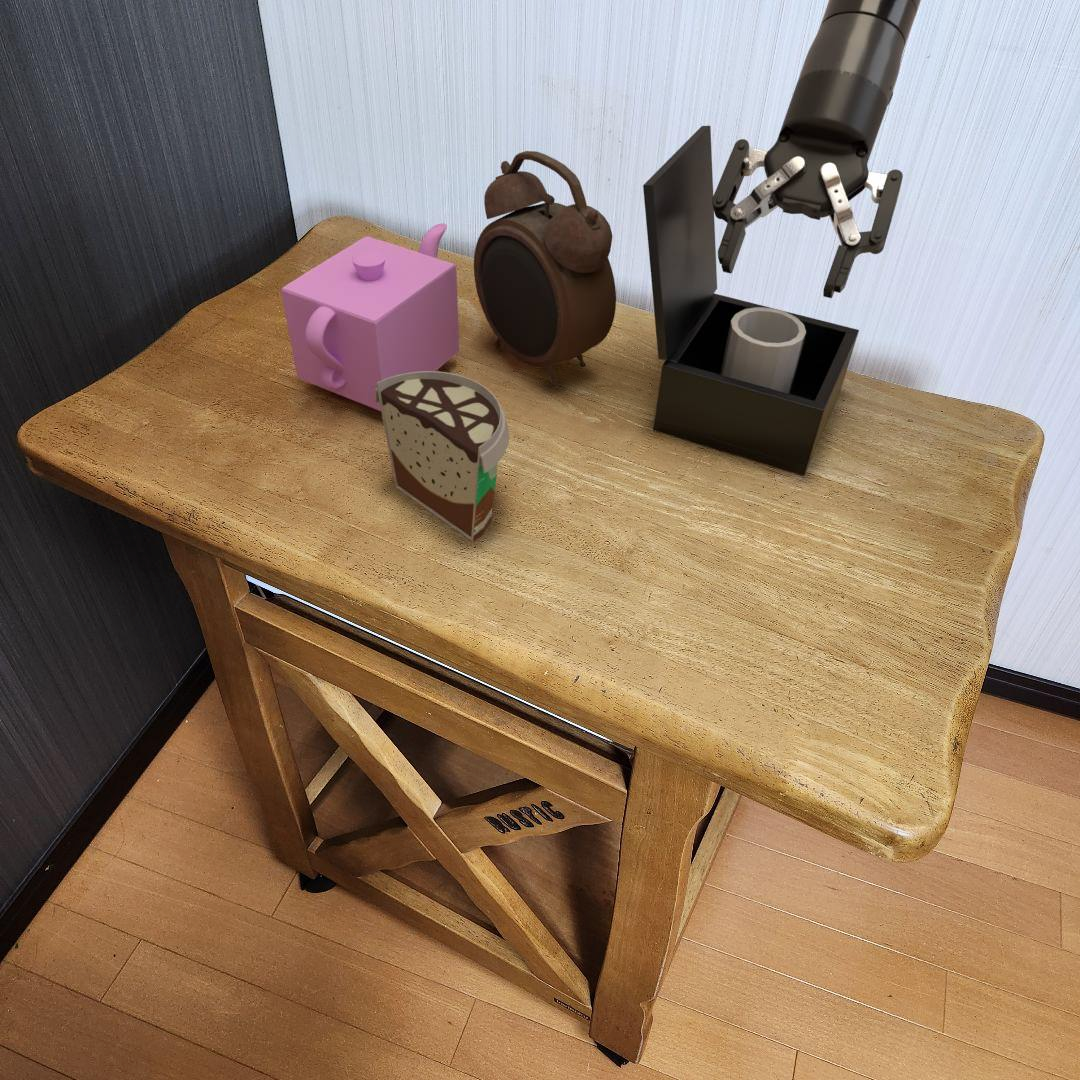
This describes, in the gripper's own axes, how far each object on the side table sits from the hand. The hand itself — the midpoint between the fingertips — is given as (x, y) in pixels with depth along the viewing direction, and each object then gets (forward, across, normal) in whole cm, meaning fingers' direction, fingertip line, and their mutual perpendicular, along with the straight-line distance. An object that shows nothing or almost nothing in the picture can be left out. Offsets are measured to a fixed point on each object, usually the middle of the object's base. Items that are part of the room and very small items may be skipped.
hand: (776, 282), depth 75 cm
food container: (+25, -18, -5) cm, 31 cm away
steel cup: (+8, 0, +10) cm, 13 cm away
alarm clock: (+10, -21, +10) cm, 25 cm away
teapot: (+16, -33, +4) cm, 37 cm away
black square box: (+9, 0, +11) cm, 14 cm away
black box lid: (-2, -8, 0) cm, 8 cm away
